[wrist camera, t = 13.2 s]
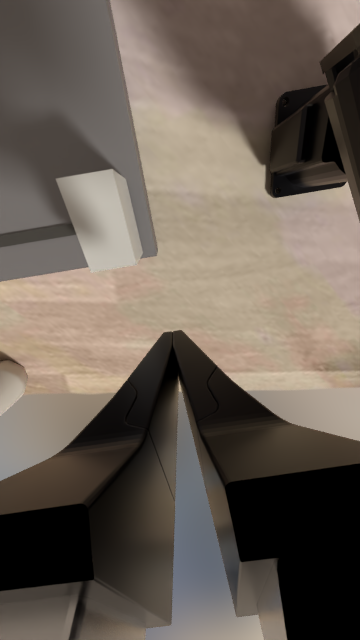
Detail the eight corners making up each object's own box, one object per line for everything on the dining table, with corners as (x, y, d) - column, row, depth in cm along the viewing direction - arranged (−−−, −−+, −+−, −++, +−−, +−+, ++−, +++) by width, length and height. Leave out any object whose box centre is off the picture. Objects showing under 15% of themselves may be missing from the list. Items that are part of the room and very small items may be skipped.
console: (90, -100, 11) (63, -208, 8) (157, 249, 19) (156, 256, 17) (-196, -43, 11) (-319, -128, 8) (0, 275, 20) (-27, 286, 17)
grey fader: (125, 178, 14) (112, 169, 10) (142, 252, 16) (136, 265, 13) (83, 186, 14) (55, 178, 10) (106, 258, 16) (90, 272, 13)
